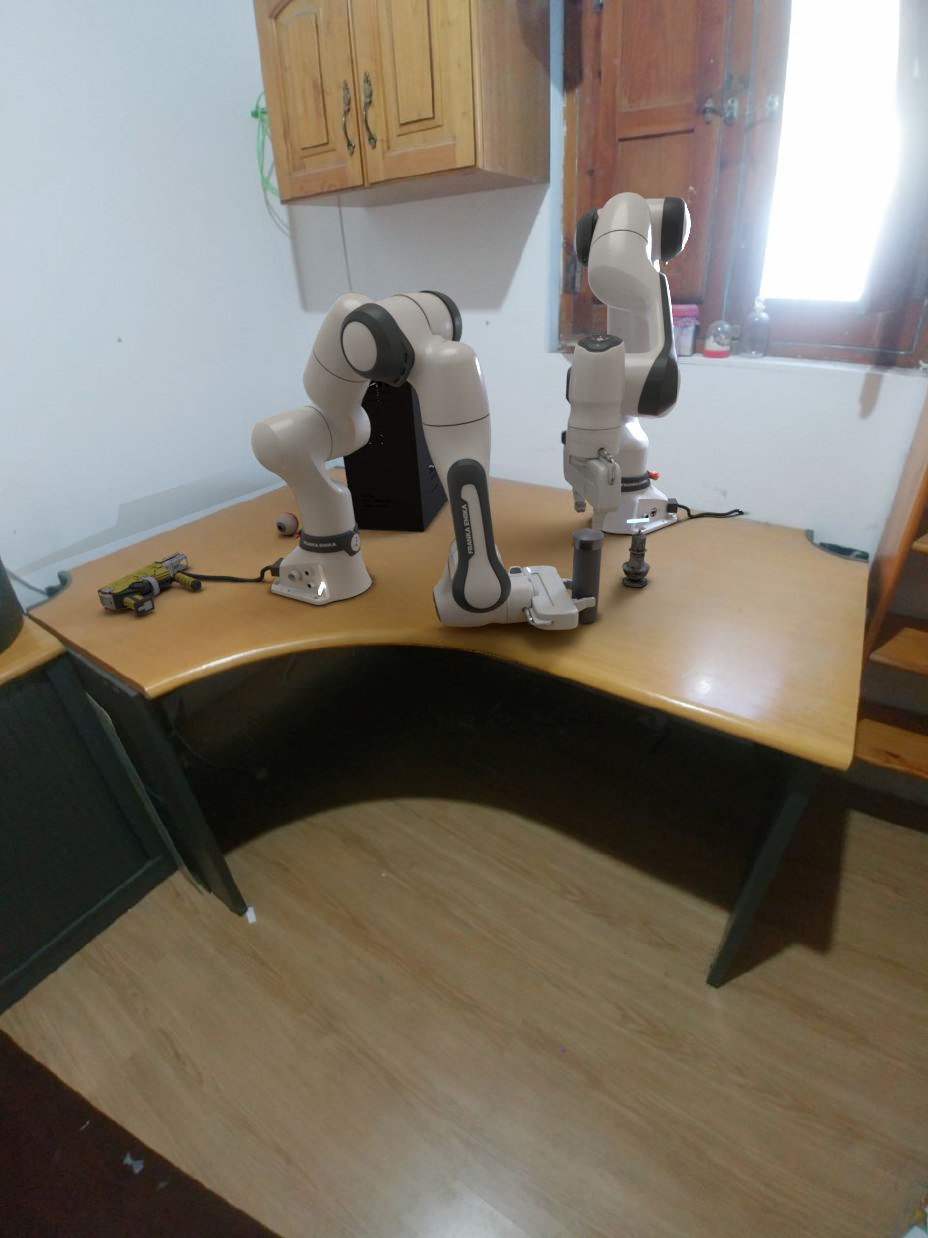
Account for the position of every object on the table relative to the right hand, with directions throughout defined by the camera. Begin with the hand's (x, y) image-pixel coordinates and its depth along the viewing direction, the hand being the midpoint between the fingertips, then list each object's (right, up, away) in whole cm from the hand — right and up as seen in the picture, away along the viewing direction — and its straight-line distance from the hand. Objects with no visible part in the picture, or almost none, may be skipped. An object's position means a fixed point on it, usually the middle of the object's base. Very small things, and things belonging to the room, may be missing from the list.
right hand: (587, 519), depth 108 cm
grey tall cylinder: (+1, -17, +10) cm, 20 cm away
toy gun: (-90, -12, +29) cm, 96 cm away
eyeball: (-70, +5, +57) cm, 90 cm away
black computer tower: (-39, +16, +72) cm, 83 cm away
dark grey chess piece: (+15, -10, +22) cm, 28 cm away
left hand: (+2, -13, +8) cm, 15 cm away
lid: (0, -3, +2) cm, 3 cm away
